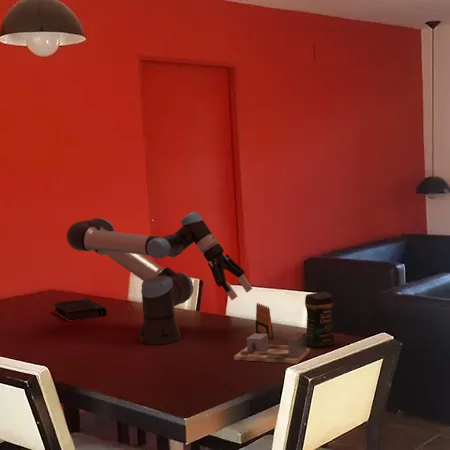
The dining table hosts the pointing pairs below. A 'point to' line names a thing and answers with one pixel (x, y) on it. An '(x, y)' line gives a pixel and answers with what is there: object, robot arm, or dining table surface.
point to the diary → (79, 309)
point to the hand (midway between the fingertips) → (242, 294)
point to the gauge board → (270, 355)
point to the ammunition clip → (263, 320)
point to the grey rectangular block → (257, 343)
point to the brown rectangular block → (297, 345)
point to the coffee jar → (319, 319)
